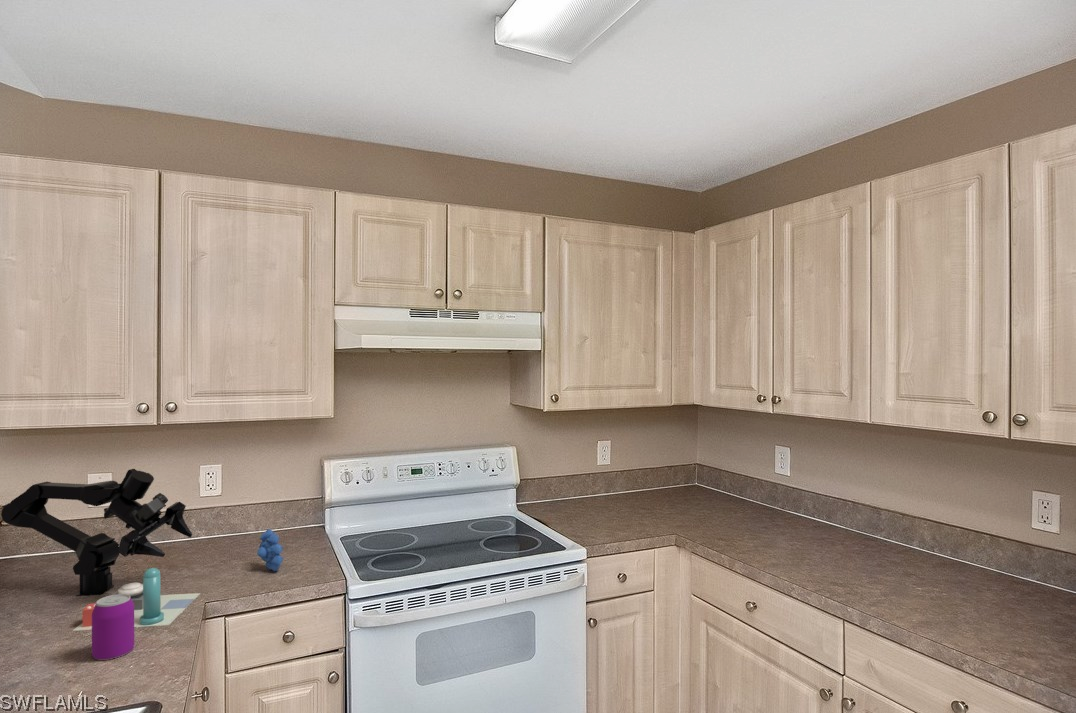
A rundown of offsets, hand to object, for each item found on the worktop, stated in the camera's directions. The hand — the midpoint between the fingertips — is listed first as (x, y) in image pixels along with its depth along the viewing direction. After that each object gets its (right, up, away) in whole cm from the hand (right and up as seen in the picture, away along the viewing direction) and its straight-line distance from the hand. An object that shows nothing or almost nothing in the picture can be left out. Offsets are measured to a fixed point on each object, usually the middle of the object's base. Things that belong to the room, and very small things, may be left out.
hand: (178, 545), depth 169 cm
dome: (-8, -10, -6) cm, 15 cm away
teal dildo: (+3, -13, -17) cm, 22 cm away
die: (-10, -13, -18) cm, 24 cm away
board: (-3, -14, -11) cm, 18 cm away
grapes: (+16, -14, +20) cm, 29 cm away
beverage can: (+5, -14, -33) cm, 36 cm away
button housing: (-8, -13, -6) cm, 17 cm away
